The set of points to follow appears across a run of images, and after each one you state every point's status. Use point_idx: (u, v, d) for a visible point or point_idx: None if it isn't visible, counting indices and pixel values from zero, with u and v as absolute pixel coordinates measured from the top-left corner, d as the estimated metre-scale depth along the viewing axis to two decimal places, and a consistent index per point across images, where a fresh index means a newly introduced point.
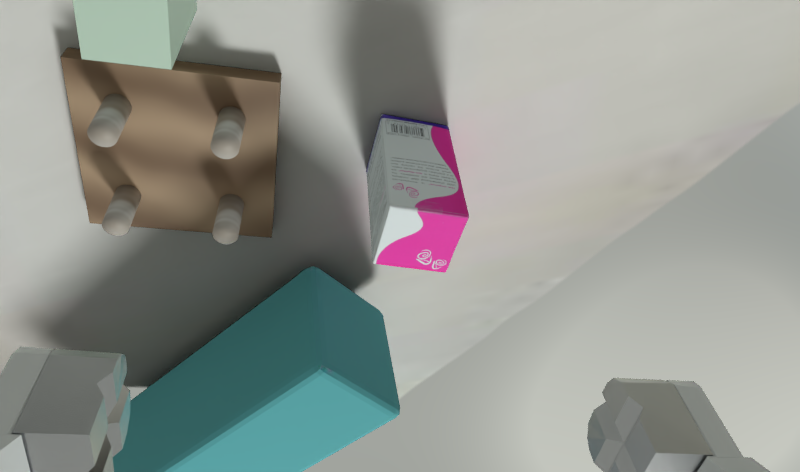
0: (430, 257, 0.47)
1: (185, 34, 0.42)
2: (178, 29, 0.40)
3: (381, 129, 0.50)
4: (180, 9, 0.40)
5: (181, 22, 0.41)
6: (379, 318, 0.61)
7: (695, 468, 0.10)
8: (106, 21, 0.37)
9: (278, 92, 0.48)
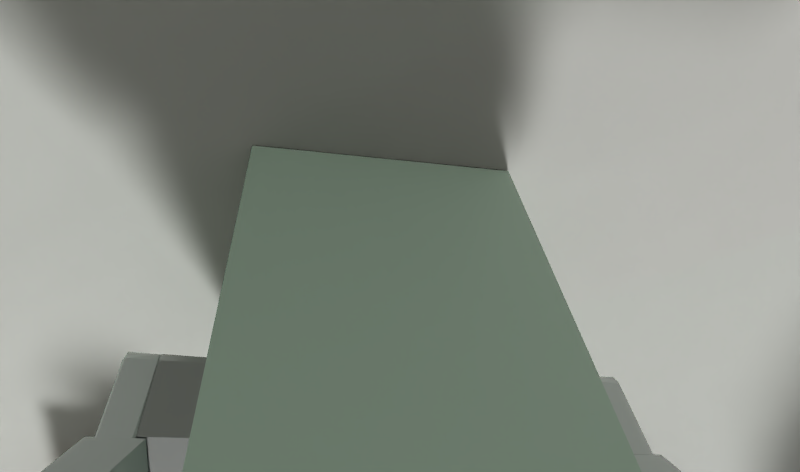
0: None
1: None
2: None
3: None
4: None
5: None
6: None
7: None
8: None
9: None
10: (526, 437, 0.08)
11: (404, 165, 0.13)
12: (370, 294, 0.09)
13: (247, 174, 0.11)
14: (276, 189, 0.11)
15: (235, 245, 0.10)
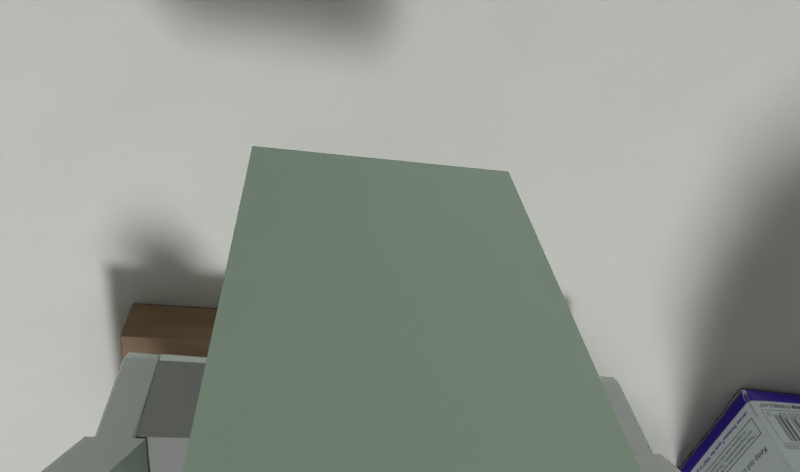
0: None
1: None
2: None
3: (764, 432, 0.25)
4: None
5: None
6: None
7: None
8: None
9: None
10: (526, 438, 0.08)
11: (404, 165, 0.13)
12: (371, 294, 0.09)
13: (247, 174, 0.11)
14: (277, 190, 0.11)
15: (235, 246, 0.10)
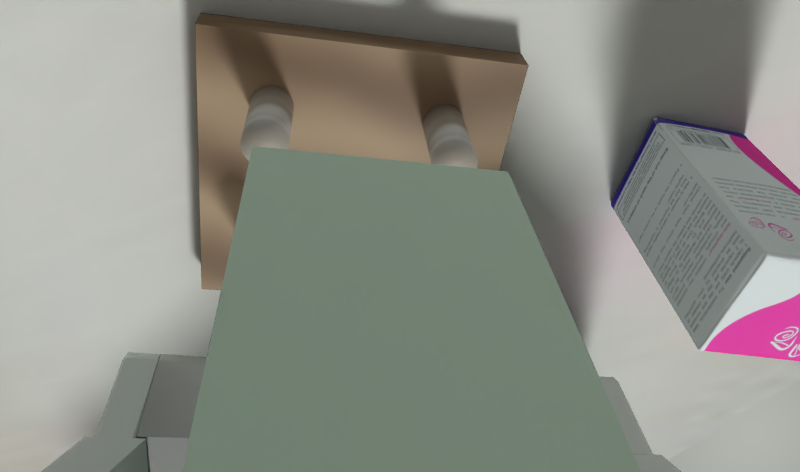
0: (794, 339, 0.29)
1: None
2: None
3: (666, 138, 0.33)
4: None
5: None
6: None
7: None
8: None
9: (522, 81, 0.31)
10: (526, 438, 0.08)
11: (404, 165, 0.13)
12: (370, 294, 0.09)
13: (247, 174, 0.11)
14: (276, 190, 0.11)
15: (235, 246, 0.10)
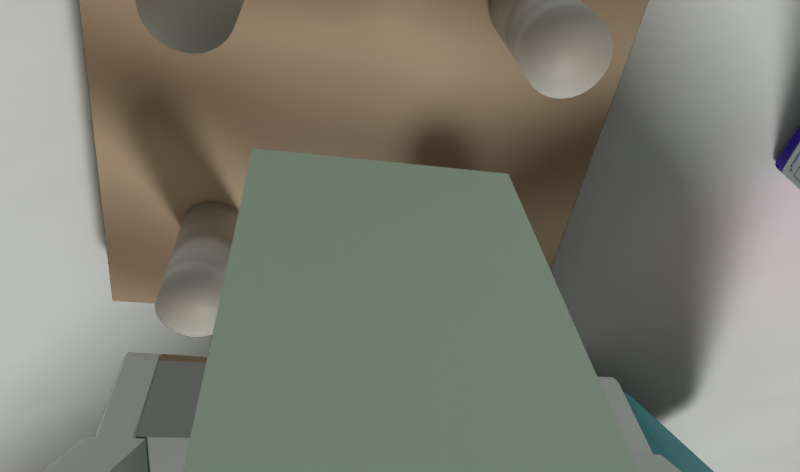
0: None
1: None
2: None
3: None
4: None
5: None
6: None
7: None
8: None
9: None
10: (526, 440, 0.08)
11: (404, 167, 0.13)
12: (370, 297, 0.09)
13: (247, 177, 0.11)
14: (277, 192, 0.11)
15: (235, 248, 0.10)
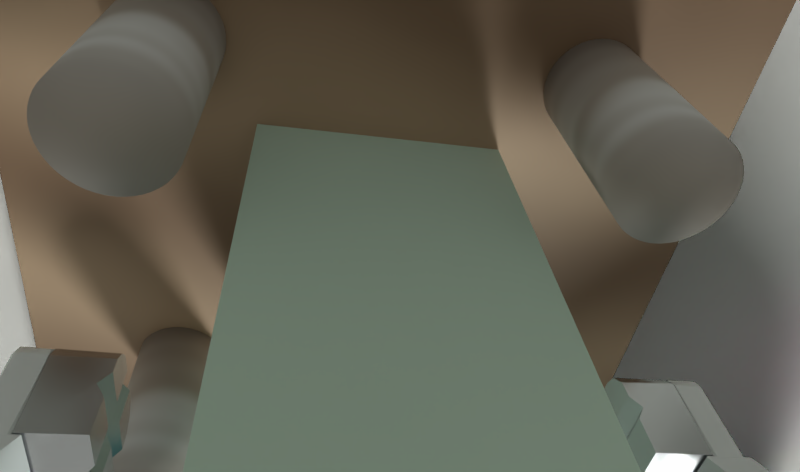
0: None
1: None
2: None
3: None
4: None
5: None
6: None
7: (695, 468, 0.10)
8: None
9: None
10: (508, 376, 0.08)
11: (400, 143, 0.13)
12: (368, 254, 0.10)
13: (252, 149, 0.12)
14: (280, 162, 0.12)
15: (243, 210, 0.10)
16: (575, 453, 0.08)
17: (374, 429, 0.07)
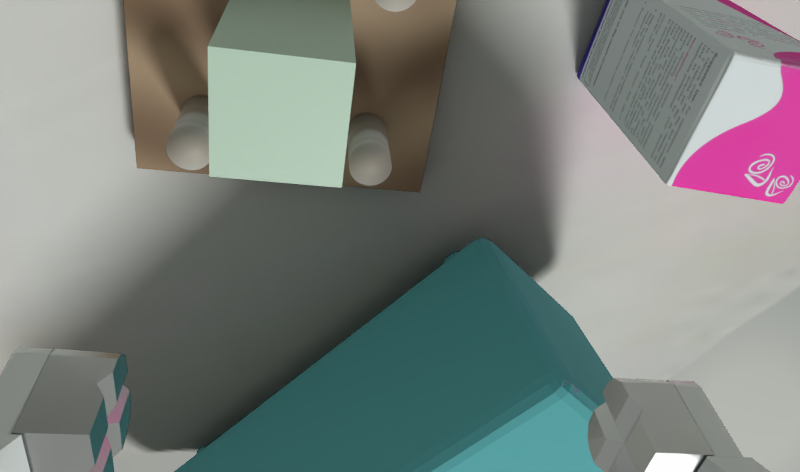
0: (770, 171, 0.26)
1: None
2: None
3: None
4: None
5: None
6: (575, 322, 0.40)
7: (695, 468, 0.10)
8: (255, 119, 0.24)
9: None
10: (320, 36, 0.25)
11: None
12: (278, 12, 0.26)
13: None
14: None
15: (231, 0, 0.27)
16: (335, 48, 0.24)
17: (270, 38, 0.24)
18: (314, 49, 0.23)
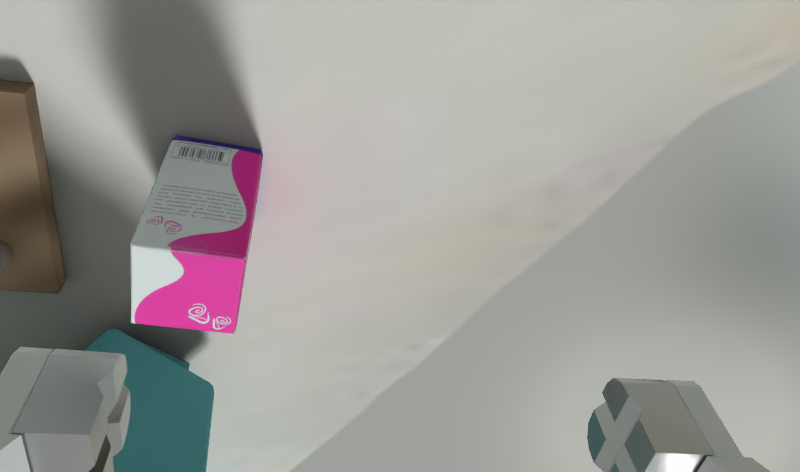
0: (207, 314, 0.36)
1: None
2: None
3: (166, 153, 0.40)
4: None
5: None
6: (205, 392, 0.49)
7: (695, 468, 0.10)
8: None
9: (25, 106, 0.38)
10: None
11: None
12: None
13: None
14: None
15: None
16: None
17: None
18: None
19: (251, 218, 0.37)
